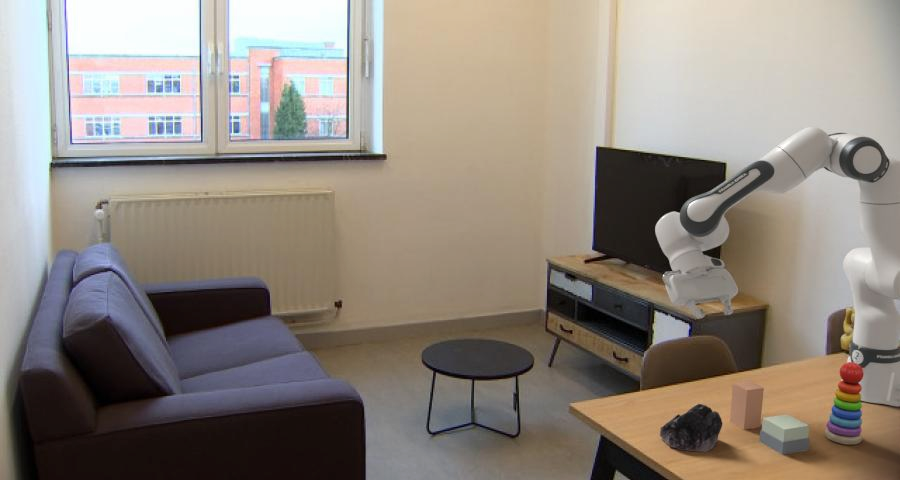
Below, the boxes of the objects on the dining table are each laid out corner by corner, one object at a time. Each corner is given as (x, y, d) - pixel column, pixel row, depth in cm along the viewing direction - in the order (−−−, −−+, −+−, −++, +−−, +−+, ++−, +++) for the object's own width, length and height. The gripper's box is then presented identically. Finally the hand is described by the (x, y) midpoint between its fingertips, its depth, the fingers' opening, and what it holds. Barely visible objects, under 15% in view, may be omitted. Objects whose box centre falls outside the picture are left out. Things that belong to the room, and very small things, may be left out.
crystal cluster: (647, 439, 205) (649, 400, 202) (690, 423, 212) (692, 386, 209) (688, 465, 194) (691, 425, 191) (732, 448, 200) (735, 409, 198)
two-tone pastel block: (784, 437, 206) (787, 413, 205) (808, 450, 199) (810, 425, 198) (759, 441, 203) (761, 417, 202) (781, 455, 196) (784, 430, 195)
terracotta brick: (746, 419, 216) (749, 380, 214) (760, 426, 211) (763, 387, 210) (729, 422, 214) (733, 383, 212) (743, 429, 210) (747, 390, 208)
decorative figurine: (874, 352, 271) (879, 305, 268) (873, 360, 263) (878, 311, 261) (840, 347, 275) (845, 301, 272) (838, 354, 268) (843, 307, 265)
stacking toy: (859, 449, 200) (868, 371, 196) (821, 441, 204) (829, 364, 200) (863, 437, 206) (872, 361, 203) (827, 429, 210) (835, 355, 207)
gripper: (666, 265, 219) (690, 313, 212) (727, 259, 228) (752, 305, 221) (653, 279, 223) (676, 326, 217) (713, 272, 233) (737, 317, 226)
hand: (715, 315), depth 219 cm, fingers open, 8 cm apart
